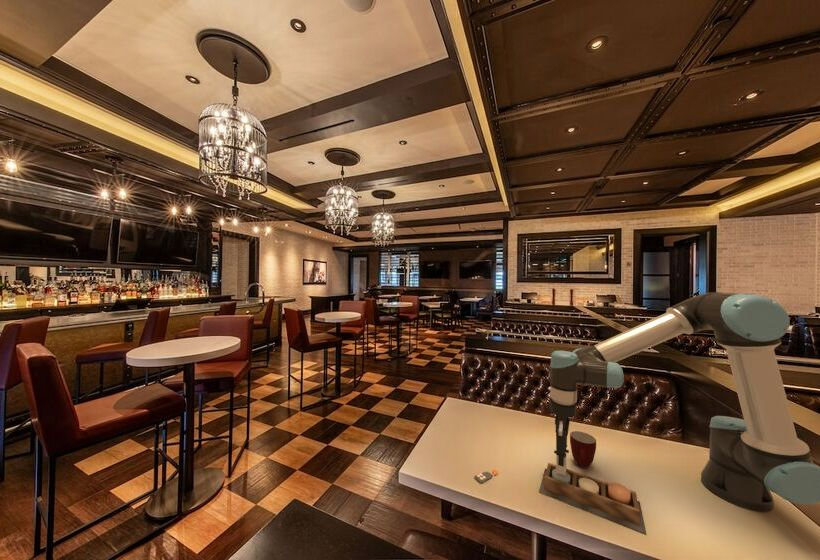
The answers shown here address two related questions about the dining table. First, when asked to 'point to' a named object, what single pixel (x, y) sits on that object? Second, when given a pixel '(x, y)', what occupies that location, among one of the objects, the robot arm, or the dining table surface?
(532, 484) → the dining table surface
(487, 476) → the key chain
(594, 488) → the cream egg
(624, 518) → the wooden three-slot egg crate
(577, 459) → the mug
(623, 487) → the brown oval piece
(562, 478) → the slate egg
